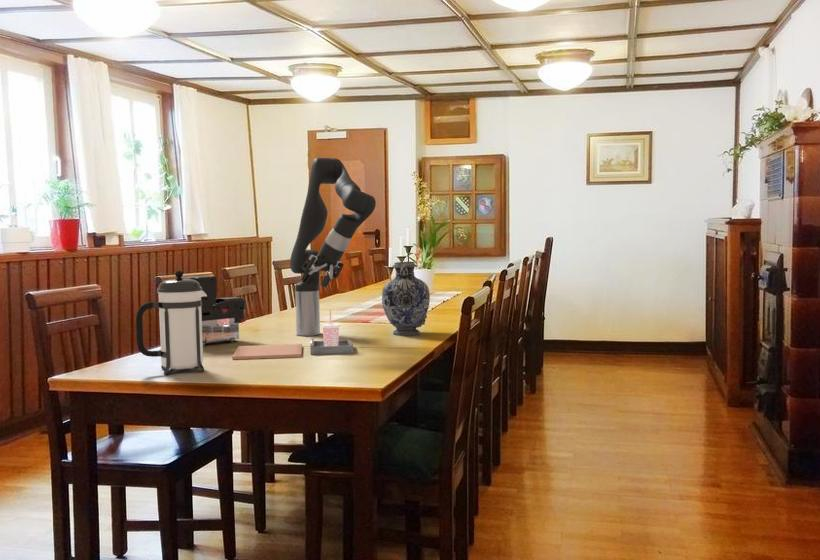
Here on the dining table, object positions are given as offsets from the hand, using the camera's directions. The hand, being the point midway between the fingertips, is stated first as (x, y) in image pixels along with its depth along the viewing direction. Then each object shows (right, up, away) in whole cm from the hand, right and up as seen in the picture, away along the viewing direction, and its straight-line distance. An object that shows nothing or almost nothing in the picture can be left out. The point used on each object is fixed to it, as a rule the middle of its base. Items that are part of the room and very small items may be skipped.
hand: (313, 284), depth 262 cm
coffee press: (-36, -26, -31) cm, 54 cm away
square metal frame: (+6, -23, +2) cm, 23 cm away
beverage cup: (+6, -23, +2) cm, 24 cm away
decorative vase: (+31, -20, +41) cm, 55 cm away
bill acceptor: (-40, -22, +24) cm, 52 cm away
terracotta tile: (-15, -23, 0) cm, 28 cm away
